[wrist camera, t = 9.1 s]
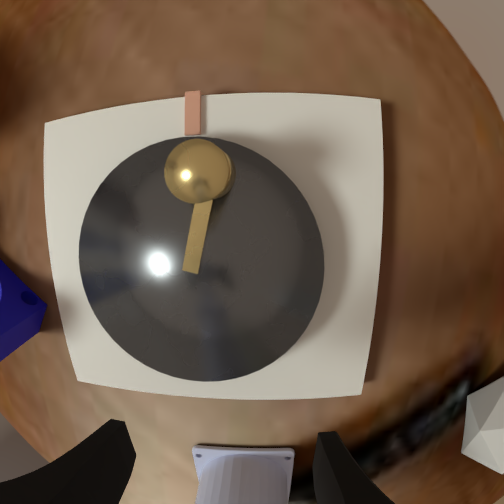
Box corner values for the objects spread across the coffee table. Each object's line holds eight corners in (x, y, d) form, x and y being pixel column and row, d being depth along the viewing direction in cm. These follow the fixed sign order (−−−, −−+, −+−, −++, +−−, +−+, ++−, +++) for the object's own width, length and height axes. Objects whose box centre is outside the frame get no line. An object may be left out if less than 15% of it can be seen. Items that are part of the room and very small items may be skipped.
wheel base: (356, 384, 19) (362, 399, 18) (84, 372, 20) (74, 384, 19) (373, 101, 16) (383, 93, 14) (55, 122, 16) (40, 119, 15)
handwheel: (283, 393, 17) (287, 438, 14) (82, 338, 17) (49, 369, 13) (349, 172, 15) (377, 169, 11) (105, 123, 15) (64, 111, 11)
